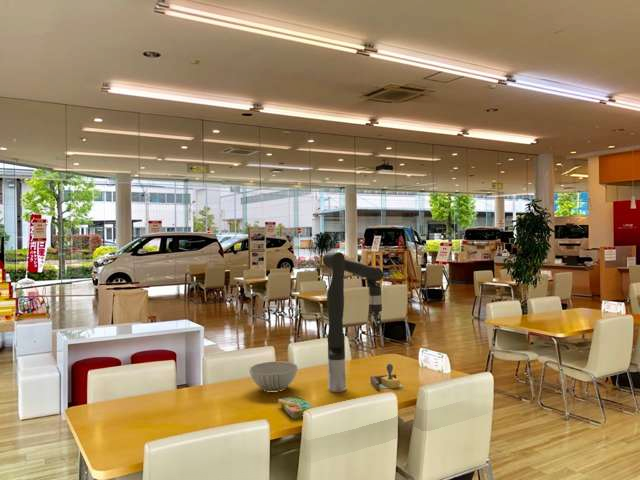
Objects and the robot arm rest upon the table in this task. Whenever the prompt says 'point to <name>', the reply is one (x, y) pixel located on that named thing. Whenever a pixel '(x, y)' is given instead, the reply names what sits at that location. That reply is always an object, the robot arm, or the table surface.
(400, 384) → the resting mat
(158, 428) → the table surface
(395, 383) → the rubber stamp
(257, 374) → the decorative bowl
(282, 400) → the puzzle game
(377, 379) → the corner fence
